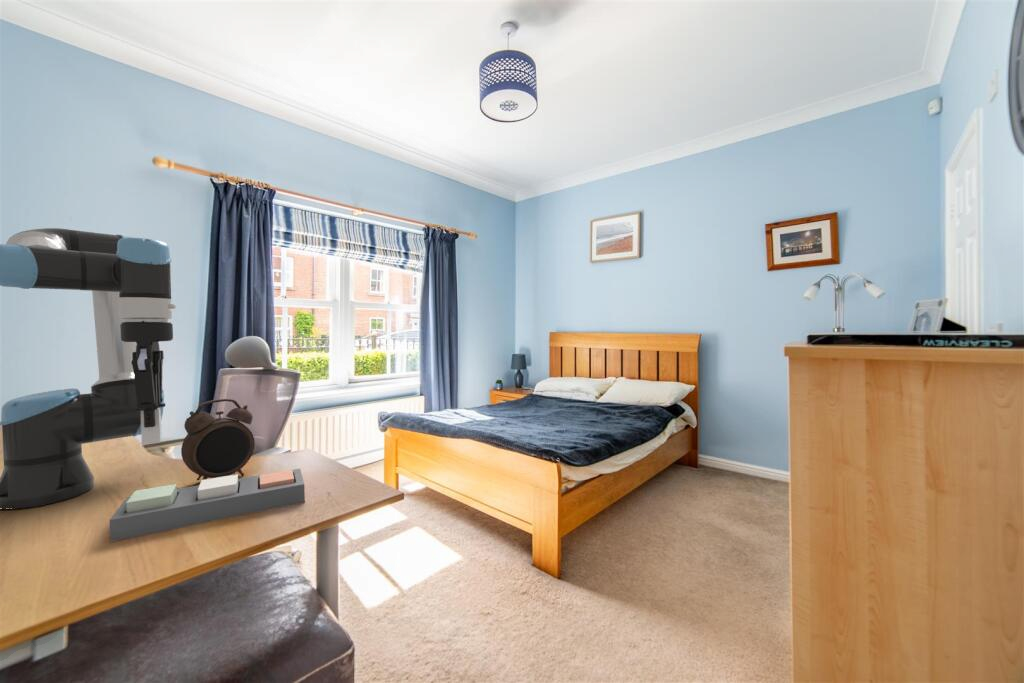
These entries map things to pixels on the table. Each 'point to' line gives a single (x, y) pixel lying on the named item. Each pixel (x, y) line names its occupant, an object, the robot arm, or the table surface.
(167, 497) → the key sage
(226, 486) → the key offwhite
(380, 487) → the table surface
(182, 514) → the keypad
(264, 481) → the key terracotta
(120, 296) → the robot arm
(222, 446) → the alarm clock
